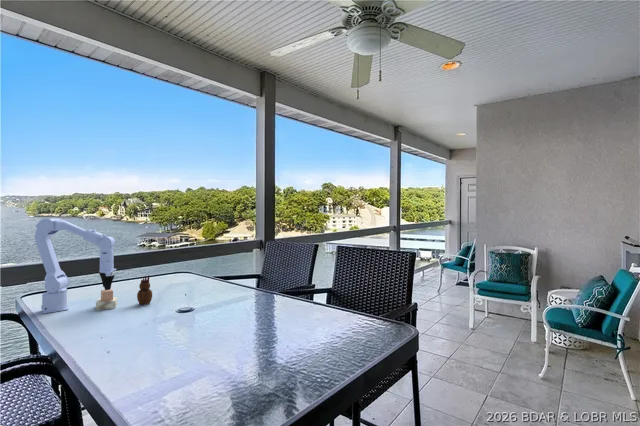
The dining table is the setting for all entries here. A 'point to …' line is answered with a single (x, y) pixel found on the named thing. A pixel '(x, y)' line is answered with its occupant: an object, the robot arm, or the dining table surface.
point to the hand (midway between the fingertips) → (106, 288)
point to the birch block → (106, 304)
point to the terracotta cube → (106, 295)
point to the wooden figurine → (144, 292)
